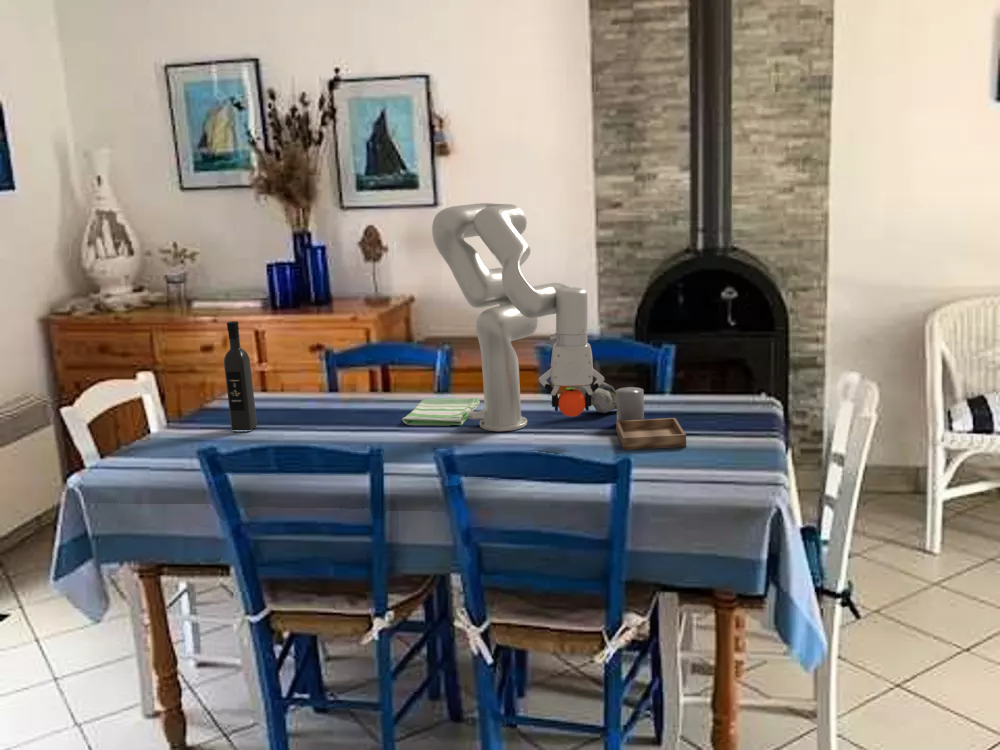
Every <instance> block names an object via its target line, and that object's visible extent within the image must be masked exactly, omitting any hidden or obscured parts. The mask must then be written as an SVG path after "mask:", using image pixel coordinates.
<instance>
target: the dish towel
mask: <svg viewBox="0 0 1000 750" xmlns="http://www.w3.org/2000/svg"><path fill="white" fill-rule="evenodd" d="M480 403H481V401H480V397H471V398H436V397H435V398H434V397H433V398H424V399H422V400H421V401H420V402H418V404H417V405H416V406H415V407H414V408H413V409H412V411H410V413H408V414H407V415H406V416H405V417H402V418H401V420H402V422H403V424H406V425H407V426H450V425H460V426H459V427H462V426H463V424H464V423H465V422H466V421H467V419H468V412H472V411H475V410H476V409H477V408H478V407H479V405H480Z"/></svg>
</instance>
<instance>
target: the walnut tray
mask: <svg viewBox="0 0 1000 750" xmlns="http://www.w3.org/2000/svg"><path fill="white" fill-rule="evenodd" d="M615 429H616V432H615V433H616V435H617V437H618V440H619V443H620V445H621V447H622V449H623V451H629V450H630V451H631V450H632V451H634V450H650V449H653V450H654V449H667V448H668V449H672V448H687V434H686V433H685V432H686V431H684V429H683V428H682V426H681V425H680V423H679V421H678V420H677V418H676V417H668V418H650V419H648V418H647V419H645V418H644V420H626V421H617V420H616V421H615Z"/></svg>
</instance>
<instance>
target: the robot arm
mask: <svg viewBox="0 0 1000 750" xmlns="http://www.w3.org/2000/svg"><path fill="white" fill-rule="evenodd" d="M527 223H528V222H527V217H526V215H525V213H524V211H523V210H522V209H521V208H520V207H518V206H517V205H515V204H512V203H511V204H510V203H509V204H508V203H492V202H491V203H489V202H485V203H484V202H481V203H479V202H478V203H471V204H464V205H462V204H460V205H452V206H449V207H446V208H444V209H441V210H439V211H438V212H437V213H436V214H435V217H434V218H433V221H432V224H431V225H432V226H431V233H432V234H431V235H432V239H433V242H434V244H435V247H436V249H437V251H438V253H439V254H440V255H441V257H442V259H443V260H444V262H446V264H447V265H448V267H449V269H450V271H451V273H452V275H453V277H454V279H455V280H456V283H457V285H458V286H459V288H460V291H461V292H462V294H463V296H464V298H465V300H466V301H467V302H468V304H469V306H471V307H472V308H475V309H476V308H478V309H480V308H486V307H491V308H488V309H485V310H483V311H482V312H481V313H480V314H479V315H478V316H477V319H476V321H475V332H476V335H477V340H478V343H479V348H480V356H481V358H480V359H481V369H482V370H481V371H482V384H483V402H484V404H483V405H484V407H483V409H480V410H479V411H475V410H473V411H472V412H468V418H467V419H468V420H472V421H477V420H478V421H479V420H480V421H479V427H480V428H481V429H483V430H485V431H491V432H509V431H510V432H511V431H516V430H519V429H523V428H524V427H526V426H527V425H528V419H527V418H526V417H525V416H522V407H521V389H520V388H521V387H520V366H519V359H518V357H519V356H518V355H517V352H516V350H515V348H514V347H513V345H512V342H513V341H516V340H521V339H524V338H528V337H530V336H531V335H533V334H534V333H535V332H536V330H537V329H538V325H539V324H538V318H541V317H545V316H549V315H555V333H553V334H550V336H549V339H550V341H554V342H555V343H553V346H552V351H551V359H550V368H549V369H548V370H547V371H546V372H544V373H543V374H542V375H540V377H539V378H538V382H539V383H540V384H541V385H542V386H543V387H544V389H545V390H546V391H548V393H550V395H551V407H552V408H554V411H555V412H558V411H559V407H558V398H559V395H558V391H559V389H560V387H563V388H564V387H569V386H584V387H585V389H586V393H585V401H586V405H585V408H584V410H585V411H586V412H587V411H588V412H589V410H590V409H589V408H590V407H592V405H591V395H592V394H593V392H594V391H595V390H596V389H597V388H600V385H601V384H602V382H604V381H606V380H605V377H604V376H603V375H602V374H601V373H600V372H598V371H597V370H596V369H594V366H593V351H592V347H591V344H590V343H589V342H588V292H587V291H586V290H585V289H584V288H581V287H572V286H571V287H570V286H568V285H565V284H564V283H560V282H551V283H546V284H545V283H544V284H540V285H534V286H531V285H530V284H529V283H528V282H527V280H526V278H525V277H524V275H523V274H522V272H521V268H520V267H521V266H522V265H524V263H525V262H526V261H527V260H528V259H529V256H530V254H531V247H530V244H528V243H527V241H526V240H525V238H524V237H523V236H522V234H523V233H524V232H525V231H526V229H527ZM473 237H479V238H480V239H481V241H482V242H483V244H484V245H485V246H486V247H487V248H488V250H489V251H490V252H491V254H492V255H493V256H494V257H495V259H496V261H497V262H498V263H499V265H501V267H495V268H488V267H487V266H486V264H485V263H484V261H483V259H482V257H481V255H480V253H478V251H477V250H476V249H475V248H474V247H473V246H472V245H471V244H470V243H468V242H467V241H465V238H466V239H467V238H473ZM497 305H499V306H497ZM492 306H493V307H492ZM549 378H550V380H551V381H550V382H551V383H549V382H548V381H547V380H548V379H549ZM594 378H596V380H595V381H594V380H593V379H594ZM551 384H552V385H551Z"/></svg>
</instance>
